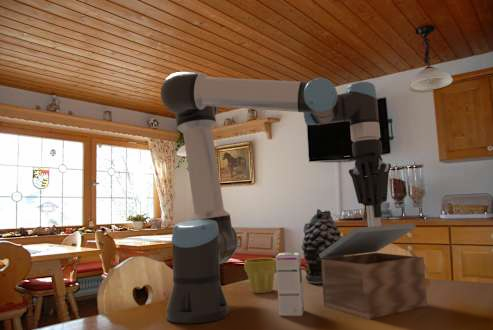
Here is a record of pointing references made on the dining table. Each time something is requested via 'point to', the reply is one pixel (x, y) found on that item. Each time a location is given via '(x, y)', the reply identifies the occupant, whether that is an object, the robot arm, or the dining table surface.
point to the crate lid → (366, 240)
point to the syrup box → (289, 284)
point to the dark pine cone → (318, 243)
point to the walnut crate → (374, 284)
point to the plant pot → (261, 274)
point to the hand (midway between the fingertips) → (375, 230)
